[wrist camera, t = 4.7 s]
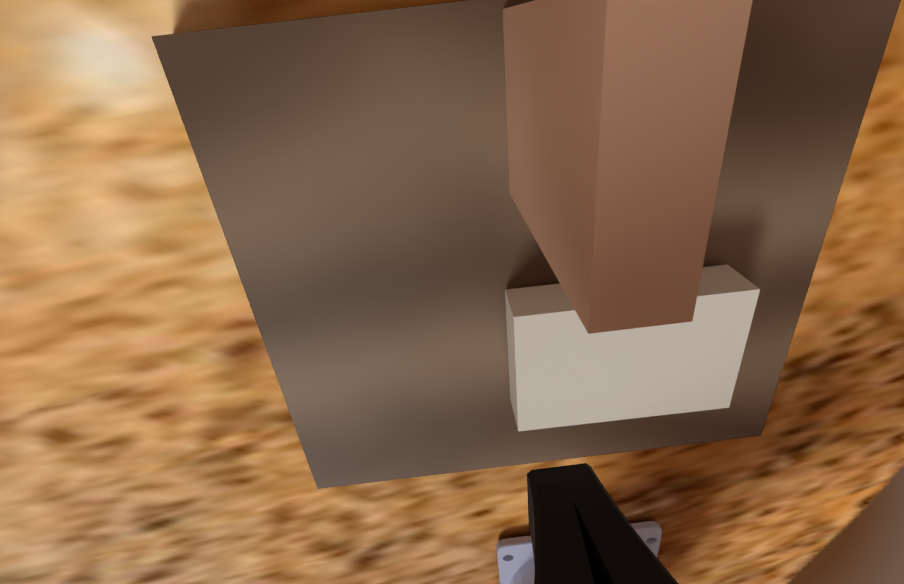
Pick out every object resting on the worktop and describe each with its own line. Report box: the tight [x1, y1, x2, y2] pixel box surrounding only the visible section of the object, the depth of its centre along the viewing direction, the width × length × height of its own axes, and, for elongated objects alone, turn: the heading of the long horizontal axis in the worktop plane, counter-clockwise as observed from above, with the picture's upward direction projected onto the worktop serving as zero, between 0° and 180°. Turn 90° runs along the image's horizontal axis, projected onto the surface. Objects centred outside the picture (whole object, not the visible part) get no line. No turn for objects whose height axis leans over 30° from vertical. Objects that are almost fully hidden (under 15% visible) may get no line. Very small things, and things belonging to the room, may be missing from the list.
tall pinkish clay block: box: [503, 0, 753, 334], centre depth 9 cm, size 4×2×7 cm, turn 6°
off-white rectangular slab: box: [505, 264, 760, 431], centre depth 15 cm, size 4×2×7 cm
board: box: [152, 0, 901, 489], centre depth 15 cm, size 16×18×1 cm
